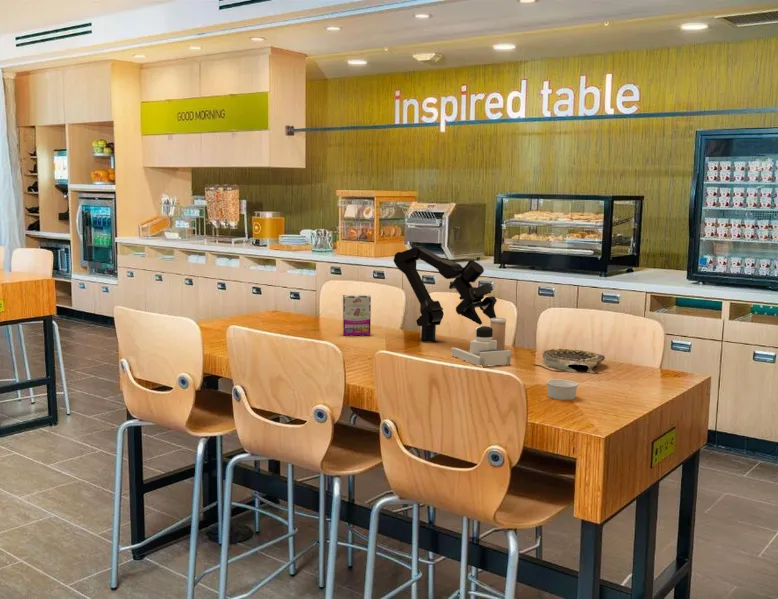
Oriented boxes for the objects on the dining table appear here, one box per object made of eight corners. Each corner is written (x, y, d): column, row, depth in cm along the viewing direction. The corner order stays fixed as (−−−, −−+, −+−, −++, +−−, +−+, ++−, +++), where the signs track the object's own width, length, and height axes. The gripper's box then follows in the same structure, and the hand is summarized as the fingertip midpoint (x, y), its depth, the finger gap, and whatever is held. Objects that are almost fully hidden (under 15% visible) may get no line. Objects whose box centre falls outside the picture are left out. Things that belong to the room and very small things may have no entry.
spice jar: (487, 352, 293) (488, 317, 291) (502, 352, 293) (504, 317, 291) (490, 355, 287) (492, 320, 285) (506, 355, 287) (507, 320, 286)
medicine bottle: (496, 360, 277) (497, 326, 276) (487, 363, 271) (488, 329, 270) (478, 357, 281) (479, 324, 279) (469, 360, 275) (470, 327, 274)
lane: (451, 355, 284) (451, 342, 284) (479, 353, 289) (480, 340, 289) (480, 367, 266) (481, 352, 266) (510, 364, 271) (510, 350, 271)
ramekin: (572, 393, 234) (573, 379, 233) (580, 401, 225) (581, 386, 224) (542, 393, 234) (543, 378, 233) (549, 400, 225) (550, 386, 224)
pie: (518, 360, 282) (519, 346, 281) (583, 357, 291) (583, 343, 291) (562, 377, 256) (563, 362, 255) (631, 373, 266) (632, 359, 265)
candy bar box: (368, 333, 325) (369, 294, 323) (370, 336, 320) (371, 296, 318) (341, 334, 324) (342, 294, 321) (343, 336, 319) (343, 295, 316)
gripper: (462, 278, 286) (486, 311, 280) (493, 275, 300) (516, 306, 293) (445, 297, 293) (468, 330, 286) (476, 293, 306) (498, 325, 300)
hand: (488, 322), depth 291 cm, fingers open, 9 cm apart
